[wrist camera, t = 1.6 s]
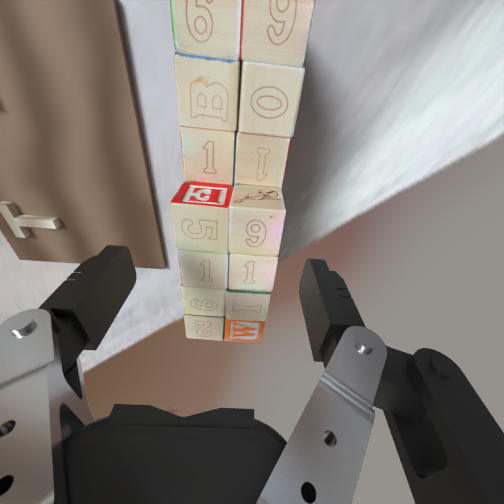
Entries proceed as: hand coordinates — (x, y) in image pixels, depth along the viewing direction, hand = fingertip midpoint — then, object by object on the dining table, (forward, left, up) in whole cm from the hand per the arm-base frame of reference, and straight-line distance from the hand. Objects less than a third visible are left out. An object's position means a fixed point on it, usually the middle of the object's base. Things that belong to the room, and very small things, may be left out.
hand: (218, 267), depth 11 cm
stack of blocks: (0, 0, -15) cm, 15 cm away
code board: (+18, +1, -15) cm, 23 cm away
